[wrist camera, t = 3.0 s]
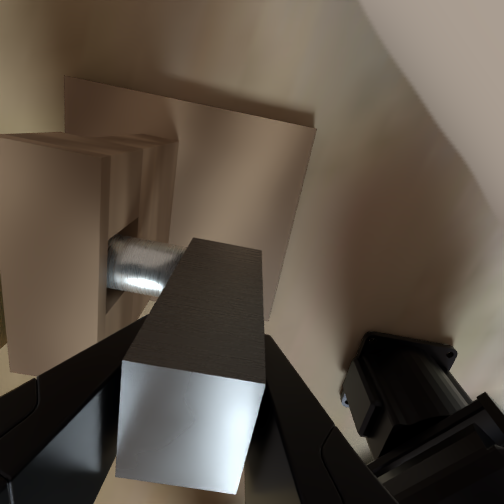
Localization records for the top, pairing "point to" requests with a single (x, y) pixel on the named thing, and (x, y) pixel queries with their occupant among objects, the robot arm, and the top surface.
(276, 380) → the robot arm
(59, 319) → the bearing stand
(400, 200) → the top surface
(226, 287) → the shaft
